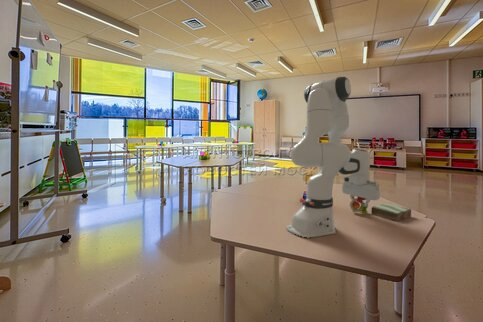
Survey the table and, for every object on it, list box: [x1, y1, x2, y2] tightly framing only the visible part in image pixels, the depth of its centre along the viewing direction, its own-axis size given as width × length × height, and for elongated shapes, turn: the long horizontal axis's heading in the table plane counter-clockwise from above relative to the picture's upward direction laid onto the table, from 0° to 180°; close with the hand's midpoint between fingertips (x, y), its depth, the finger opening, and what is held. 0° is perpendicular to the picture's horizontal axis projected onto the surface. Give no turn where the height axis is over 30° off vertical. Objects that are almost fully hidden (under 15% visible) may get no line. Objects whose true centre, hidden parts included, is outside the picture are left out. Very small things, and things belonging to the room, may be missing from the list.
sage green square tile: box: [370, 202, 412, 222], centre depth 131 cm, size 13×13×4 cm
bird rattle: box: [349, 197, 369, 215], centre depth 134 cm, size 6×11×9 cm
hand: (359, 204), depth 135 cm, fingers closed on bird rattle, 6 cm apart
